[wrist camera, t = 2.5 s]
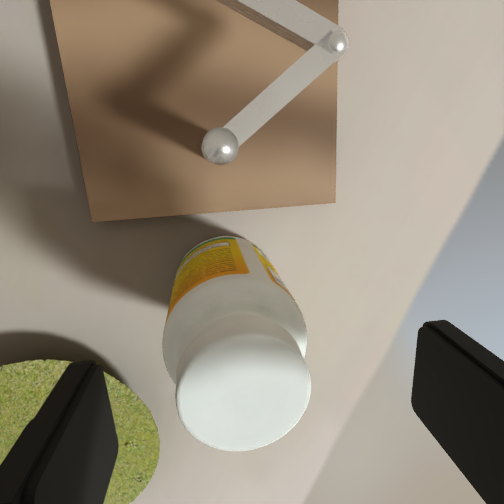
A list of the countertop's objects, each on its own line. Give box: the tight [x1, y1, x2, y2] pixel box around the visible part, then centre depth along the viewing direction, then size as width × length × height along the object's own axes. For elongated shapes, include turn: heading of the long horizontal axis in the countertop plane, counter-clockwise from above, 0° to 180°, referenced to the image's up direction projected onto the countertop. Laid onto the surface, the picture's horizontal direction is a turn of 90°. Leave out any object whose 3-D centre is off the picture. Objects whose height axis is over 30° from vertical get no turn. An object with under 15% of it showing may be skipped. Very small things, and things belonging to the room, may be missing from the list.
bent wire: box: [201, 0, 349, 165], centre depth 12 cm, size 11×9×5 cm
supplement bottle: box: [162, 236, 311, 451], centre depth 14 cm, size 5×5×10 cm
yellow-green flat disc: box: [0, 359, 160, 504], centre depth 19 cm, size 11×11×2 cm
